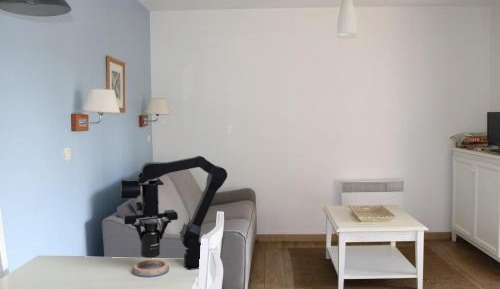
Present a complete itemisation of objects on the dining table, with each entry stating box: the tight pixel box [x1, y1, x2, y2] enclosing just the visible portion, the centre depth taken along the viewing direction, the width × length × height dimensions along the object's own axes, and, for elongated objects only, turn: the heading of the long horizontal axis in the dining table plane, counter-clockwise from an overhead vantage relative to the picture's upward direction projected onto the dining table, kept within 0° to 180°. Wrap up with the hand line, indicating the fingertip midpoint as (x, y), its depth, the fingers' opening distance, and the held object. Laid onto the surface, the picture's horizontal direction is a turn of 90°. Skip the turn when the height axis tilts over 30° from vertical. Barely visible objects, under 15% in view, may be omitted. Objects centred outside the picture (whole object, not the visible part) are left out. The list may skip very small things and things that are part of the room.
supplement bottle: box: [140, 220, 161, 259], centre depth 156 cm, size 7×7×12 cm
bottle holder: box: [132, 258, 170, 278], centre depth 157 cm, size 13×13×2 cm
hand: (151, 240), depth 156 cm, fingers closed on supplement bottle, 7 cm apart
